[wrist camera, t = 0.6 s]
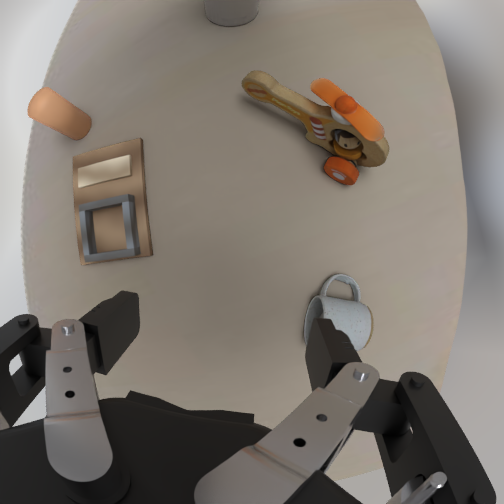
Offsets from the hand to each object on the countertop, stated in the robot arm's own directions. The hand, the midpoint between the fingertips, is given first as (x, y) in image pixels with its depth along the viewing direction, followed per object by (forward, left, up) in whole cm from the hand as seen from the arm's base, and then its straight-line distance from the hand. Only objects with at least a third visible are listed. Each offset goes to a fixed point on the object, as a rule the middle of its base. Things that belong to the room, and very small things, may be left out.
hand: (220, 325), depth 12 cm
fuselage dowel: (-24, -23, -27) cm, 43 cm away
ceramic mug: (+9, +13, -27) cm, 31 cm away
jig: (-10, -17, -27) cm, 33 cm away
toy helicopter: (-16, +13, -27) cm, 34 cm away
